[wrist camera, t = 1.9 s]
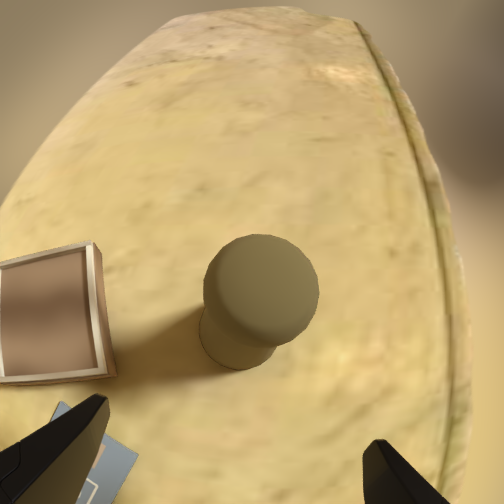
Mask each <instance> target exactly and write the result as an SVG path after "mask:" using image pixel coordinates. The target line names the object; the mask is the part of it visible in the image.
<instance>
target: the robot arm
mask: <svg viewBox="0 0 504 504" xmlns="http://www.w3.org/2000/svg"><path fill="white" fill-rule="evenodd" d="M109 417H110V408H109V401H108V398H107V397H106V396H103V395H101V394H98V393H96V394H93V395H92V396H90V397H89V398H87V399H86V400H84V401H83V402H81V403H80V404H78V405H76V406H75V407H73V408H72V409H70V410H69V411H67V412H65V413H64V414H62V415H61V416H59V417H58V418H56V419H54V420H53V421H51V422H50V423H48V424H46V425H45V426H43V427H42V428H40V429H38V430H37V431H35V432H33V433H32V434H30V435H29V436H27V437H25V438H24V439H22V440H20V442H17V443H15V444H14V445H12V446H10V447H8V448H6V449H5V450H3V451H1V452H0V504H76V501H77V499H78V497H79V494H80V492H81V490H82V488H83V485H84V483H85V481H86V479H87V476H88V474H89V472H90V470H91V468H92V465H93V463H94V461H95V459H96V457H97V454H98V451H99V448H100V445H101V442H102V439H103V436H104V433H105V429H106V426H107V423H108V420H109ZM362 459H363V492H364V501H365V504H450V503H449V502H448V501H447V500H446V499H445V498H444V497H442V495H441V494H440V493H439V492H438V491H436V490H435V489H434V488H433V487H432V486H431V485H430V484H429V483H428V482H427V481H426V480H425V479H424V478H423V477H422V476H421V475H420V474H419V473H418V472H417V471H416V470H415V469H414V468H413V467H412V466H411V465H410V464H409V463H408V462H407V461H406V460H405V459H404V458H403V457H402V456H401V455H400V454H399V453H398V452H397V451H396V450H395V449H394V448H393V447H392V446H391V445H390V444H389V443H388V442H387V441H386V440H385V439H376V440H374V441H373V442H372V443H371V444H370V445H369V446H368V447H367V449H366V450H365V451H364V453H363V457H362Z"/></svg>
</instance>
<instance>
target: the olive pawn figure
mask: <svg viewBox="0 0 504 504" xmlns="http://www.w3.org/2000/svg"><path fill="white" fill-rule="evenodd" d="M318 298H319V286H318V278H317V275H316V273H315V270H314V268H313V266H312V264H311V262H310V260H309V259H308V258H307V257H306V256H305V255H304V254H303V252H302V251H301V250H300V249H299V248H298V247H296V246H295V245H293V244H291V243H290V242H288V241H287V240H285V239H282V238H279V237H275V236H272V235H262V234H252V235H248V236H244V237H240V238H237V239H235V240H233V241H232V242H230V243H229V244H227V245H226V246H224V247H223V248H222V249H221V250H220V251H219V253H218V254H217V255H216V256H215V257H214V259H213V260H212V261H211V263H210V264H209V266H208V269H207V272H206V275H205V277H204V286H203V299H204V304H205V307H206V308H205V310H204V312H203V314H202V317H201V320H200V323H199V336H200V339H201V342H202V345H203V348H204V349H205V351H206V352H207V353H208V355H209V356H210V357H211V358H212V359H213V360H215V361H216V362H217V363H219V364H220V365H222V366H224V367H228V368H231V369H235V370H241V369H250V368H253V367H256V366H259V365H261V364H262V363H263V362H265V361H266V360H267V359H268V358H270V357H271V355H272V354H273V352H274V350H275V349H276V347H277V346H279V345H282V344H285V343H287V342H290V341H291V340H293V339H294V338H295V337H297V336H298V335H299V334H300V333H301V332H303V331H304V330H305V329H306V328H307V326H308V324H309V323H310V321H311V319H312V318H313V316H314V314H315V311H316V308H317V303H318Z"/></svg>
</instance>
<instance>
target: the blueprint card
mask: <svg viewBox="0 0 504 504" xmlns="http://www.w3.org/2000/svg"><path fill="white" fill-rule="evenodd" d="M70 409H72V408H70V407H69V406H68V405H67V404H65V403H64V402H63V401H61V402H60V404H59V406H58V408H57V410H56V412H55V414H54V416H53V418H52V420H51V421H53V420H54V419H56V418H58V417H59V416H61V415H62V414H64V413H65V412H67V411H69V410H70ZM137 457H138V454H137V453H135V452H133V451H132V450H130V449H128V448H127V447H125V446H124V445H122V444H120V443H119V442H117V441H116V440H114V439H113V438H111V437H110V436H108V435H107V434H105V433H104V436H103V439H102V442H101V445H100V448H99V451H98V454H97V457H96V459H95V461H94V463H93V465H92V468H91V470H90V472H89V474H88V476H87V479H86V481H85V483H84V485H83V488H82V490H81V492H80V494H79V497H78V499H77V501H76V504H112V502H113V500H114V498H115V496H116V495H117V493H118V491H119V489H120V487H121V486H122V484H123V482H124V480H125V479H126V477H127V475H128V473H129V471H130V470H131V468H132V466H133V464H134V462H135V461H136V459H137Z"/></svg>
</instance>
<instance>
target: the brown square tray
mask: <svg viewBox="0 0 504 504" xmlns="http://www.w3.org/2000/svg"><path fill="white" fill-rule="evenodd" d="M115 376H118V375H117V370H116V365H115V360H114V354H113V349H112V343H111V337H110V330H109V323H108V316H107V308H106V300H105V290H104V280H103V268H102V253H101V252H100V250H99V249H98V247H97V246H96V244H95V243H92V241H91V240H89V241H85V242H80V243H76V244H71V245H67V246H63V247H58V248H54V249H50V250H46V251H42V252H38V253H34V254H30V255H26V256H22V257H18V258H14V259H10V260H6V261H2V262H0V382H1V384H5V385H13V386H20V385H38V384H52V383H64V382H74V381H83V380H92V379H100V378H108V377H115Z"/></svg>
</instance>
